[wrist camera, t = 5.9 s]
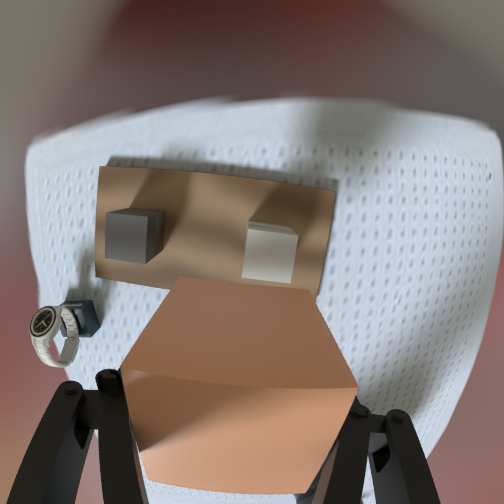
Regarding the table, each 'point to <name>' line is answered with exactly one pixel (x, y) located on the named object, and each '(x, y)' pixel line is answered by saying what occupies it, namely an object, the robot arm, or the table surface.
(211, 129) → the table surface
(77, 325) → the watch
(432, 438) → the table surface
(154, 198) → the post board
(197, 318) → the peach cube
